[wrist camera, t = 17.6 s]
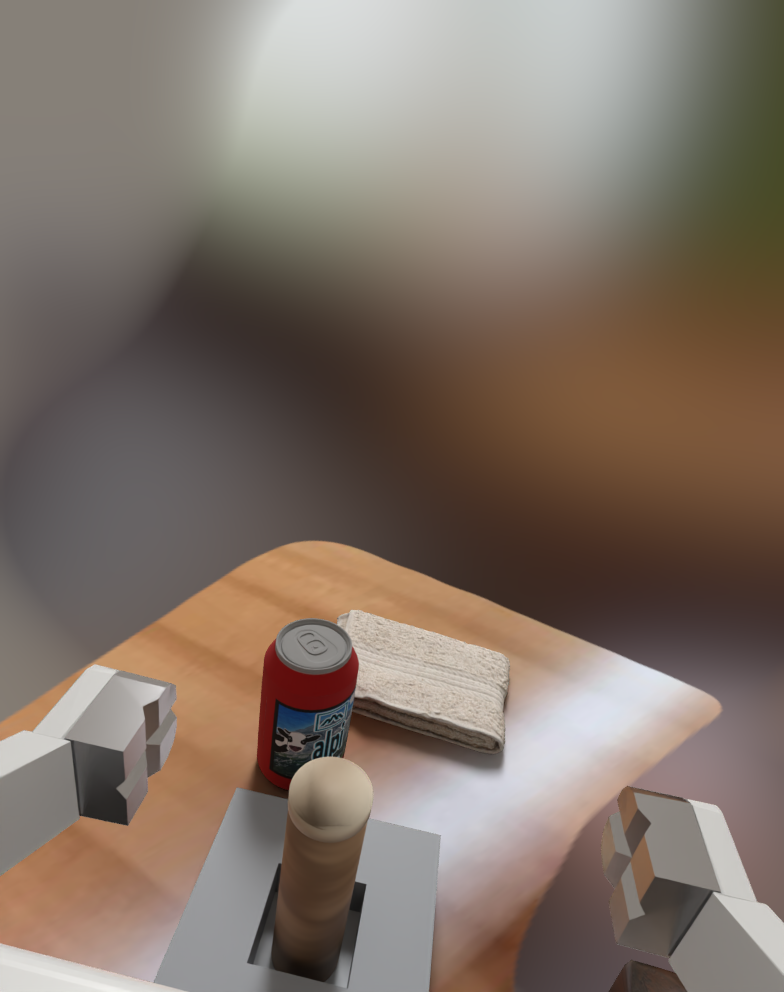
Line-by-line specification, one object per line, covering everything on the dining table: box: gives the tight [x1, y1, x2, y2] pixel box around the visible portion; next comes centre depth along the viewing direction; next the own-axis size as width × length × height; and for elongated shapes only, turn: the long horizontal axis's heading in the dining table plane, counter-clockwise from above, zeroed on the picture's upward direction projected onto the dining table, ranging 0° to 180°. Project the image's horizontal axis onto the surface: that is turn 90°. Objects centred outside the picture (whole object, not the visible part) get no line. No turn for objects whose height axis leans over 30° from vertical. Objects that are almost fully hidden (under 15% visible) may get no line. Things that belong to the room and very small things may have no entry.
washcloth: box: [337, 610, 510, 754], centre depth 57 cm, size 12×18×3 cm, turn 77°
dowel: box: [272, 757, 373, 982], centre depth 33 cm, size 4×4×14 cm
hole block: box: [154, 788, 441, 992], centre depth 35 cm, size 14×14×4 cm
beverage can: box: [257, 618, 359, 790], centre depth 45 cm, size 7×7×12 cm
